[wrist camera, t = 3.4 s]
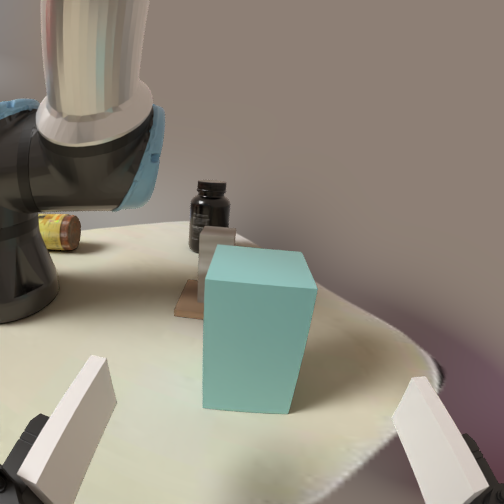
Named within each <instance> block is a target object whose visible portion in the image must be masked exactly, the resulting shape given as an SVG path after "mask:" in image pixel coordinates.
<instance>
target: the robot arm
mask: <svg viewBox="0 0 504 504" xmlns="http://www.w3.org/2000/svg"><path fill="white" fill-rule="evenodd" d="M149 1H150V0H41V38H42V52H43V65H44V74H45V82H46V90H47V96H46V97H45V98H44V99H43V101H42V102H41V103H39V102H38V101H37V100H34V99H17V100H12V101H8V102H6V101H3V102H0V323H5V322H10V321H14V320H18V319H21V318H24V317H27V316H29V315H31V314H33V313H35V312H37V311H39V310H41V309H42V308H44V307H45V306H46V305H48V304H49V303H50V302H51V301H52V300H53V299H54V298H55V296H56V295H57V293H58V290H59V283H58V276H57V271H56V267H55V265H54V263H53V261H52V259H51V256H50V254H49V252H48V250H47V247H46V245H45V243H44V240H43V238H42V235H41V233H40V229H39V219H38V212H57V211H58V212H59V211H112V212H117V211H119V210H121V209H136V208H140V207H142V206H144V205H145V204H146V203H147V202H148V201H149V200H150V198H151V195H152V193H153V190H154V186H155V182H156V179H157V174H158V169H159V157H160V154H161V150H162V145H163V138H164V128H165V112H164V109H163V108H162V107H160V106H156V105H154V104H153V97H152V93H151V91H150V89H149V88H148V86H147V85H146V84H145V83H143V82H142V81H140V80H139V72H140V63H141V54H142V46H143V38H144V31H145V25H146V18H147V12H148V6H149ZM116 404H117V401H116V397H115V393H114V389H113V385H112V381H111V376H110V372H109V367H108V363H107V358H103V357H98V356H94V355H90V357H89V358H88V360H87V361H86V363H85V364H84V366H83V367H82V369H81V370H80V372H79V373H78V375H77V376H76V377H75V379H74V380H73V382H72V383H71V385H70V387H69V388H68V390H67V391H66V393H65V394H64V396H63V397H62V399H61V400H60V402H59V403H58V405H57V407H56V408H55V410H54V411H53V413H52V415H51V416H50V417H48V416H45V415H43V414H39V415H38V416H36V417H35V418H33V419H32V420H31V421H30V422H29V424H28V425H27V427H26V428H25V431H24V432H23V433H22V435H21V436H20V439H18V441H17V443H16V444H15V446H14V447H13V449H12V451H11V452H10V454H9V456H8V457H7V459H6V461H5V462H4V464H3V465H1V464H0V504H74V501H75V499H76V496H77V494H78V491H79V489H80V486H81V484H82V481H83V479H84V476H85V474H86V472H87V469H88V467H89V465H90V462H91V460H92V458H93V455H94V453H95V451H96V448H97V446H98V444H99V442H100V439H101V437H102V435H103V433H104V430H105V428H106V426H107V424H108V421H109V419H110V417H111V415H112V413H113V411H114V408H115V406H116ZM391 419H392V421H393V423H394V426H395V428H396V430H397V433H398V435H399V437H400V440H401V442H402V445H403V447H404V449H405V452H406V454H407V456H408V459H409V462H410V464H411V467H412V469H413V471H414V474H415V477H416V479H417V482H418V484H419V487H420V489H421V492H422V494H423V497H424V500H425V503H426V504H504V484H502V483H501V484H499V483H498V481H497V480H496V478H495V476H494V474H493V473H492V471H491V469H490V467H489V465H488V463H487V462H486V460H485V458H483V454H482V453H481V451H479V447H478V446H477V444H476V442H475V441H474V440H473V439H472V438H471V437H470V436H469V435H468V434H463V435H461V434H460V432H459V430H458V428H457V427H456V425H455V423H454V421H453V420H452V418H451V417H450V415H449V413H448V412H447V410H446V409H445V406H444V405H443V403H442V402H441V400H440V398H439V397H438V395H437V394H436V392H435V390H434V389H433V387H432V386H431V384H430V383H429V381H428V379H427V378H426V376H421V377H412V379H411V381H410V383H409V385H408V387H407V389H406V391H405V393H404V395H403V397H402V399H401V401H400V403H399V405H398V407H397V409H396V410H395V412H394V414H393V416H392V418H391Z"/></svg>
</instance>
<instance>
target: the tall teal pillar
mask: <svg viewBox="0 0 504 504" xmlns="http://www.w3.org/2000/svg"><path fill="white" fill-rule="evenodd" d="M317 290H318V289H317V286H316V284H315V281H314V279H313V277H312V274H311V272H310V270H309V268H308V265H307V263H306V261H305V258H304V256H303V254H302V252H294V251H283V250H272V249H262V248H252V247H241V246H230V245H219V244H217V247H216V250H215V253H214V255H213V258H212V261H211V264H210V266H209V269H208V272H207V275H206V278H205V292H204V325H203V408H208V409H218V410H228V411H239V412H253V413H273V414H288V412H289V409H290V405H291V401H292V398H293V394H294V390H295V386H296V382H297V378H298V374H299V370H300V366H301V362H302V358H303V354H304V350H305V346H306V341H307V337H308V332H309V328H310V323H311V319H312V314H313V309H314V305H315V300H316V295H317Z"/></svg>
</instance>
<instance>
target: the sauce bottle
mask: <svg viewBox="0 0 504 504" xmlns="http://www.w3.org/2000/svg"><path fill="white" fill-rule="evenodd" d="M38 219H39V229H40V233H41V235H42V238H43V240H44V243H45V245H46V247H47V249H52V250H73V249H76V248H77V247H78V244H79V241H80V235H81V229H80V228H81V224H80V221H79V219H78V218H77V216H74V215H72V216H71V215H69V214H38Z"/></svg>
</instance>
